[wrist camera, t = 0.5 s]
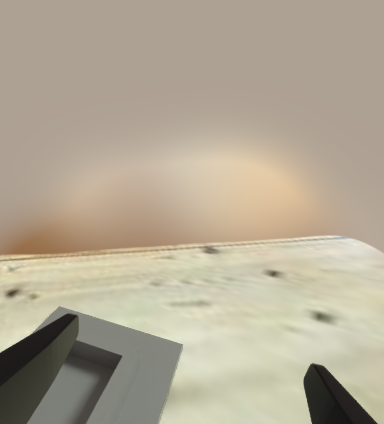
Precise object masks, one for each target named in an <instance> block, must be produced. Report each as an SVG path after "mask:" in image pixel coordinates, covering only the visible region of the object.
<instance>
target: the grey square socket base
mask: <svg viewBox="0 0 384 424" xmlns="http://www.w3.org/2000/svg"><path fill="white" fill-rule="evenodd" d="M67 313H71V314H76V315H78V316H79V333H78V336H77V338H76V340H75V342H74V344H73V346H72V348H71V350H70V352H69V354H68V356H67V357H66V359H65V361H64V363H63V365H62V367H61V369H60V371H59V373H58V375H57V376H56V378H55V380H54V382H53V383H52V385H51V387H50V388H49V390H48V391H47V393H46V395H45V396H44V398H43V399H42V401H41V402H40V404H39V406H38V407H37V409H36V410H35V412H34V413H33V415H32V417H31V418H30V420H29V421H28V423H27V424H159V422H160V419H161V416H162V413H163V409H164V406H165V403H166V400H167V397H168V394H169V390H170V387H171V384H172V381H173V378H174V374H175V371H176V368H177V365H178V362H179V359H180V355H181V352H182V349H183V344H180V343H176V342H173V341H170V340H167V339H163V338H160V337H157V336H154V335H150V334H147V333H144V332H141V331H137V330H134V329H131V328H128V327H124V326H121V325H118V324H115V323H111V322H108V321H105V320H102V319H98V318H95V317H92V316H89V315H86V314H82V313H79V312H76V311H73V310H69V309H66V308H63V307H60V306H59V307H58V308H57V309H56V310H55V311H54V312H53V313H52V314H51V315H50V316H49V317H48V318H47V319H46V320H45V321H44V322H43V323H42V324H41V325H40V326H39V327H38V328H37V329H36V330H35V331H34V332H36V331H38V330H40V329H41V328H43V327H45V326H46V325H48V324H50V323H51V322H53V321H55V320H57V319H58V318H60V317H62V316H63V315H65V314H67ZM34 332H33V333H34Z"/></svg>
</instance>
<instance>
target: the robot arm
mask: <svg viewBox="0 0 384 424" xmlns="http://www.w3.org/2000/svg"><path fill="white" fill-rule="evenodd" d="M78 333H79V316H78V315H76V314H71V313H67V314H65V315H63V316H62V317H60V318H58V319H57V320H55V321H53V322H51V323H50V324H48V325H46V326H45V327H43V328H41V329H40V330H38V331H36V332H34V333H33V334H31V335H29V336H28V337H26V338H24V339H23V340H21V341H19V342H18V343H16V344H14V345H12V346H11V347H9V348H7V349H6V350H4V351H2V352H1V353H0V424H27V423H28V421H29V420H30V418H31V417H32V415H33V413H34V412H35V410H36V409H37V407H38V406H39V404H40V402H41V401H42V399H43V398H44V396H45V395H46V393H47V391H48V390H49V388H50V387H51V385H52V383H53V382H54V380H55V378H56V376H57V375H58V373H59V371H60V369H61V367H62V365H63V363H64V361H65V359H66V357H67V356H68V354H69V352H70V350H71V348H72V346H73V344H74V342H75V340H76V338H77V336H78ZM304 389H305V393H306V398H307V403H308V407H309V412H310V417H311V422H312V424H377V423H376V421H375V420H374V419H373V418H372V417H371V416H370V415H369V414H368V413H367V412H366V411H365V410H364V409H363V407H362V406H361V405H360V404H359V403H358V402H357V401H356V400H355V399H354V398H353V397H352V396H351V395H350V394H349V392H348V391H347V390H346V389H345V388H344V387H343V386H342V385H341V384H340V383H339V382H338V381H337V380H336V378H335V377H334V376H333V375H332V374H331V373H330V372H329V371H328V370H327V369H326V368H325V367H324V366H322V365H319V364H314V363H312V364H310V366H309V368H308V370H307V372H306V374H305V377H304Z"/></svg>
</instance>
